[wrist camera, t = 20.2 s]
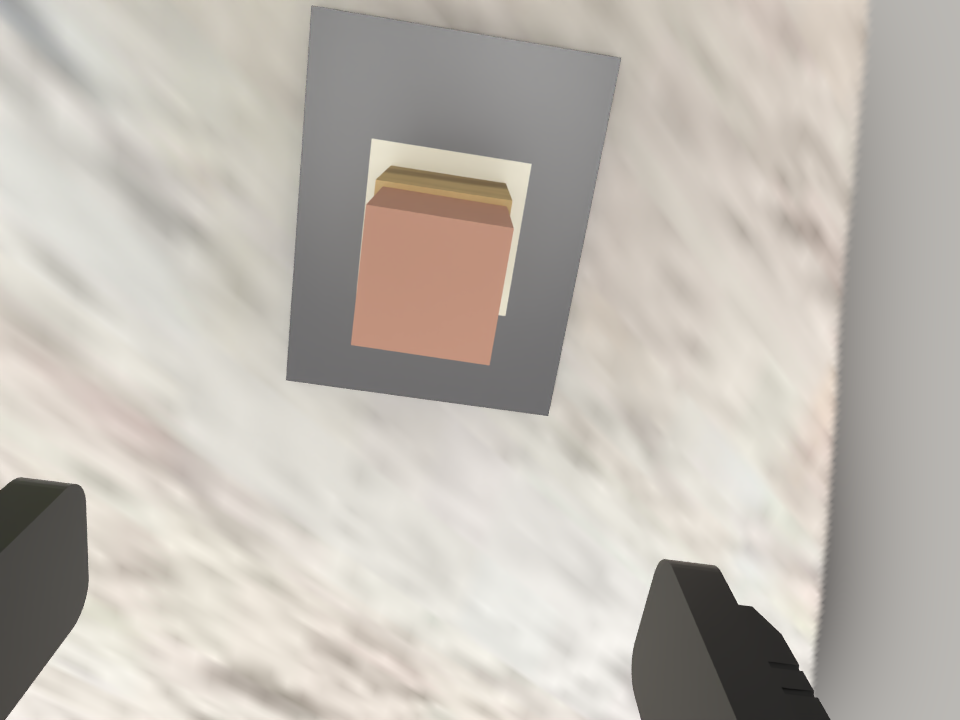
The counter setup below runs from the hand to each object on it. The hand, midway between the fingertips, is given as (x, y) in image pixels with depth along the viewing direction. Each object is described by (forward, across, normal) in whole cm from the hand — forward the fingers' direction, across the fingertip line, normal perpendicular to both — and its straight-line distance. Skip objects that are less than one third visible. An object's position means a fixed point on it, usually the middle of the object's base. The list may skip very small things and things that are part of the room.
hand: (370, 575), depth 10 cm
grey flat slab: (+28, 0, 0) cm, 28 cm away
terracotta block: (+21, 0, 0) cm, 21 cm away
